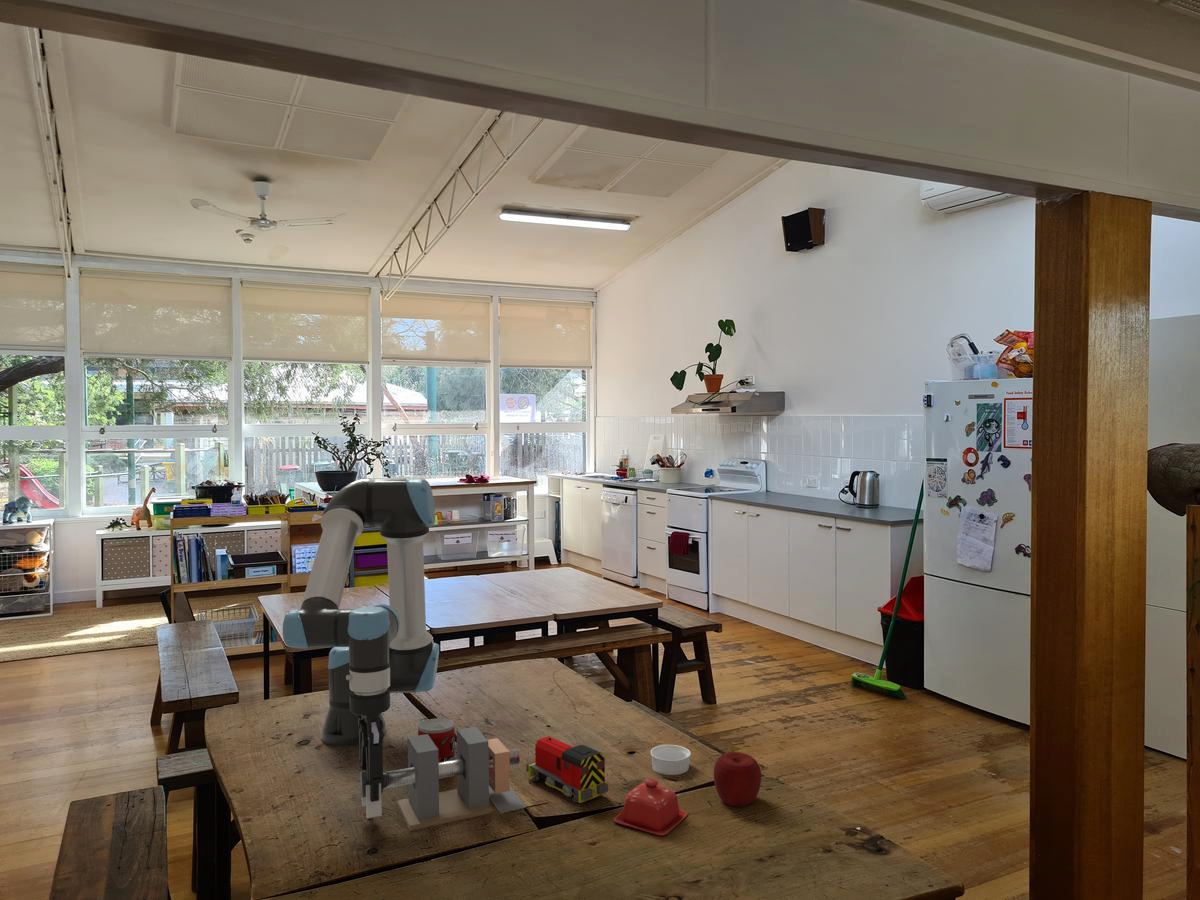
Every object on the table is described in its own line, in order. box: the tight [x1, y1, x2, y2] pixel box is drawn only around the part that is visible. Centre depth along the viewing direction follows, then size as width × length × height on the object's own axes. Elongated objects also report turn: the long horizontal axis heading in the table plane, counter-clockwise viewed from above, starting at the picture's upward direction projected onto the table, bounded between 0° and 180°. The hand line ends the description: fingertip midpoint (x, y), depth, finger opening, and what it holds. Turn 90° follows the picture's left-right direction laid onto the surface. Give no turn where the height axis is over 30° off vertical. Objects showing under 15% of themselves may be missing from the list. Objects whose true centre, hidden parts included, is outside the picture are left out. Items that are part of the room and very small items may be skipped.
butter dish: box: [613, 777, 689, 837], centre depth 160 cm, size 12×12×8 cm
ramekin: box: [650, 744, 692, 776], centre depth 184 cm, size 9×9×4 cm
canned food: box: [417, 717, 456, 780], centre depth 183 cm, size 8×8×11 cm
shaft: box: [359, 748, 521, 799], centre depth 166 cm, size 31×5×5 cm, turn 115°
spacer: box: [487, 737, 511, 794], centre depth 170 cm, size 8×3×8 cm, turn 25°
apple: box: [713, 751, 762, 808], centre depth 168 cm, size 10×10×10 cm
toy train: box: [525, 735, 609, 804], centre depth 175 cm, size 7×19×10 cm, turn 41°
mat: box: [489, 786, 527, 814], centre depth 172 cm, size 14×10×1 cm
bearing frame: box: [396, 726, 492, 832], centre depth 166 cm, size 16×12×14 cm
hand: (371, 809), depth 160 cm, fingers closed on shaft, 5 cm apart
